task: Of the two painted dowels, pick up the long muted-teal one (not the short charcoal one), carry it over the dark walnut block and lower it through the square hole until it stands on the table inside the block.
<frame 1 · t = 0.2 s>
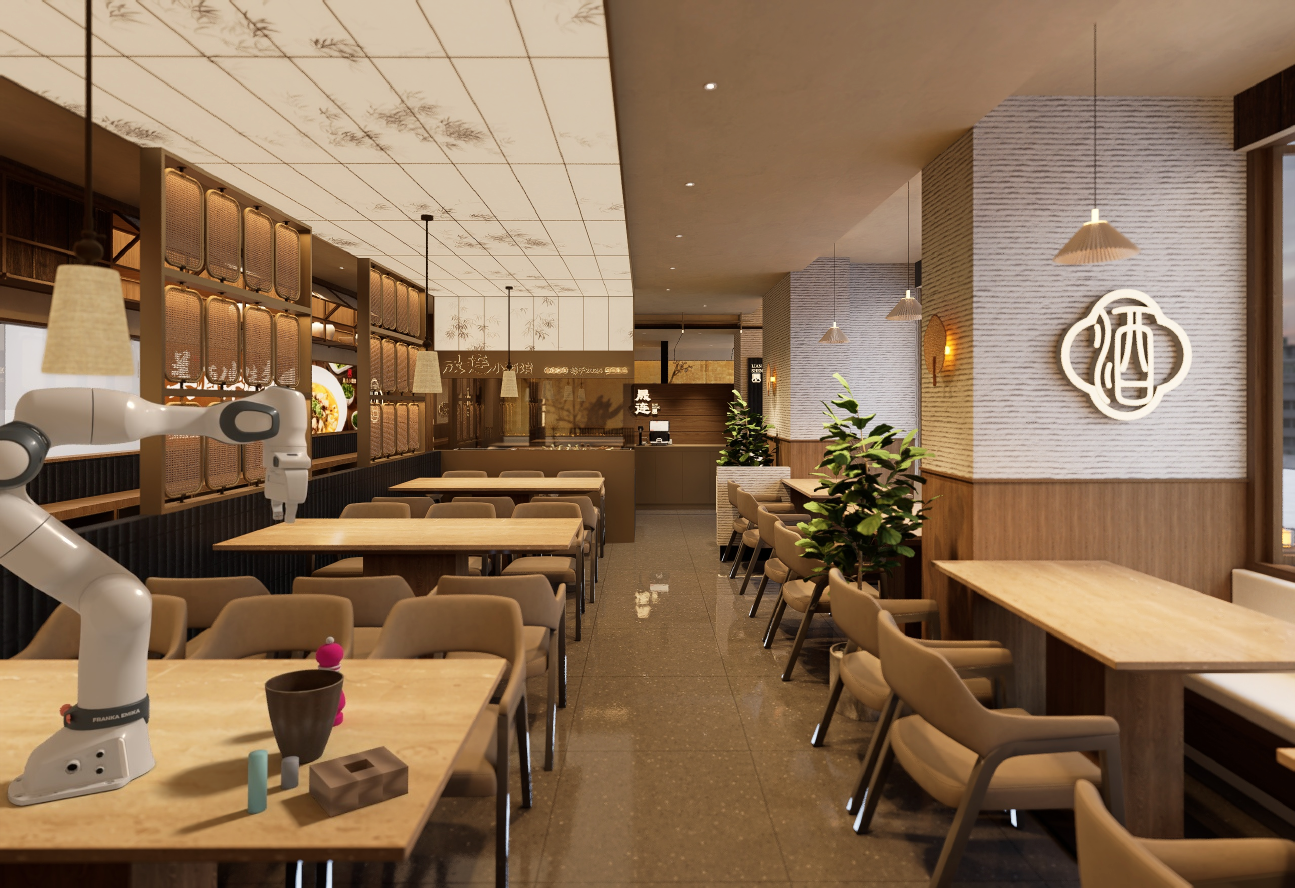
hand: (283, 521, 164), 48 cm above the table, fingers open, 8 cm apart
charcoal dowel: (289, 785, 139), on the table
plant pot: (303, 757, 152), on the table
pepper mill: (328, 723, 171), on the table
walnut block: (358, 792, 137), on the table
teal dowel: (257, 809, 130), on the table
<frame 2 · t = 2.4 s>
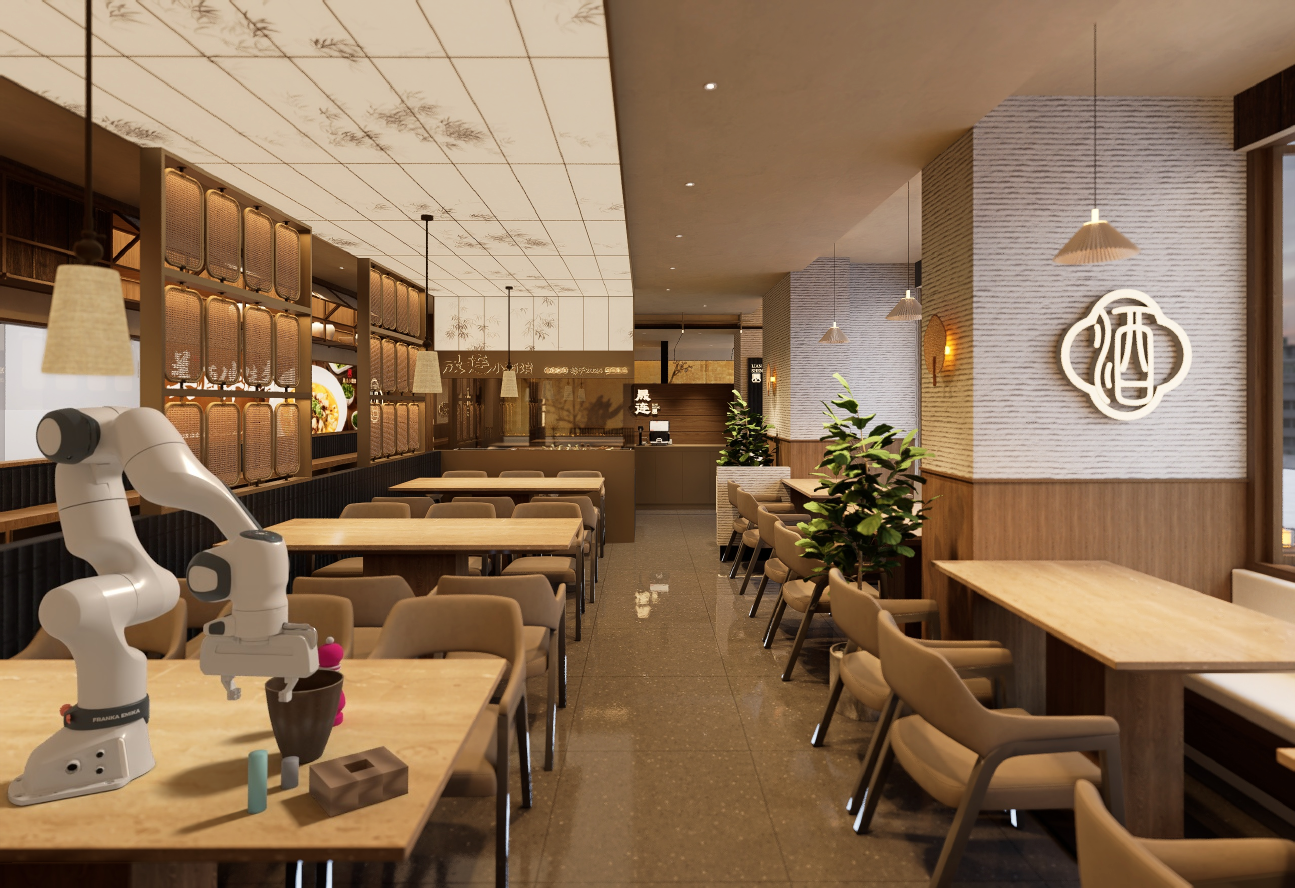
hand: (259, 700, 130), 19 cm above the table, fingers open, 8 cm apart
nothing on the table moved.
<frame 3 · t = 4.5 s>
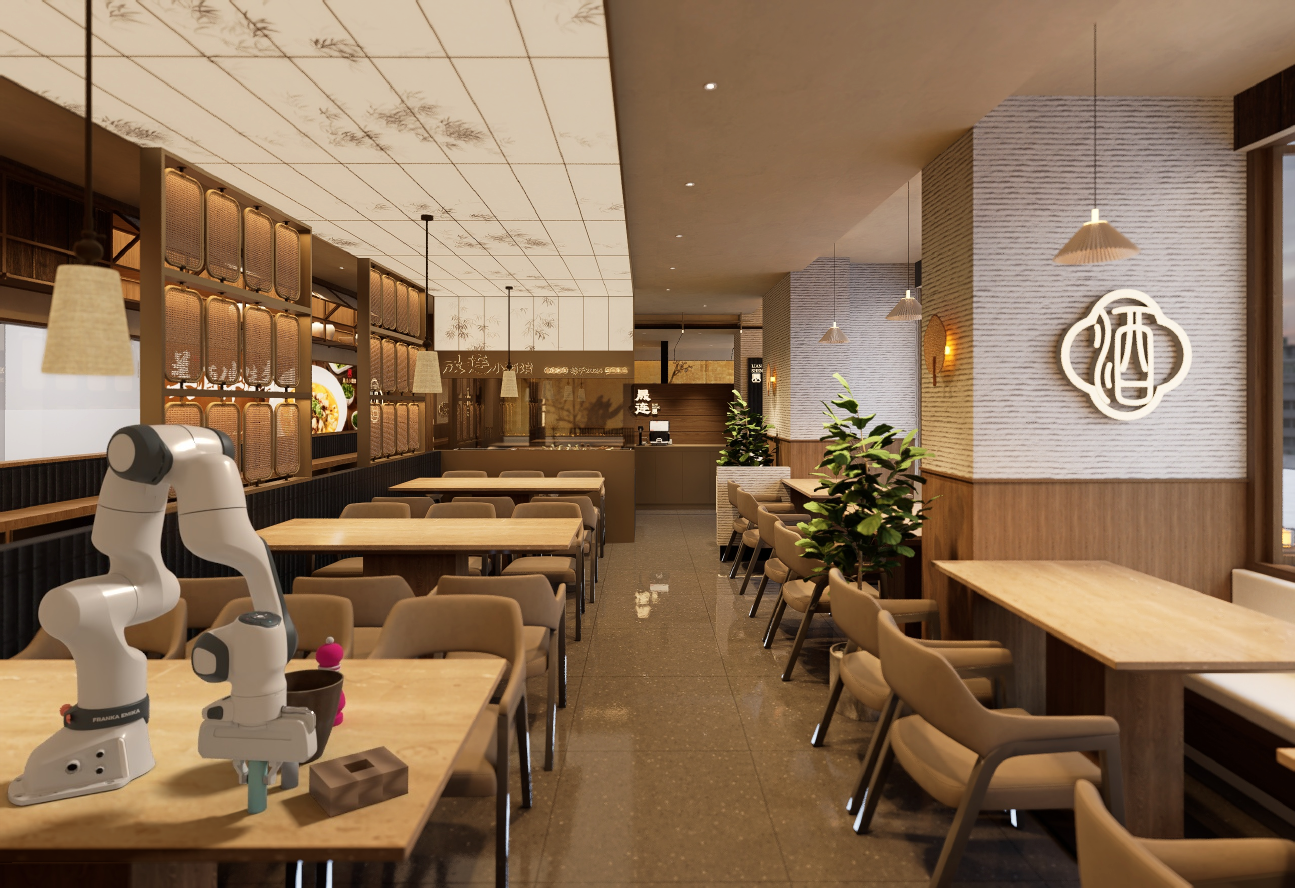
hand: (257, 783, 130), 5 cm above the table, fingers closed on teal dowel, 3 cm apart
teal dowel: (257, 809, 130), on the table, touching gripper
everything else where it was.
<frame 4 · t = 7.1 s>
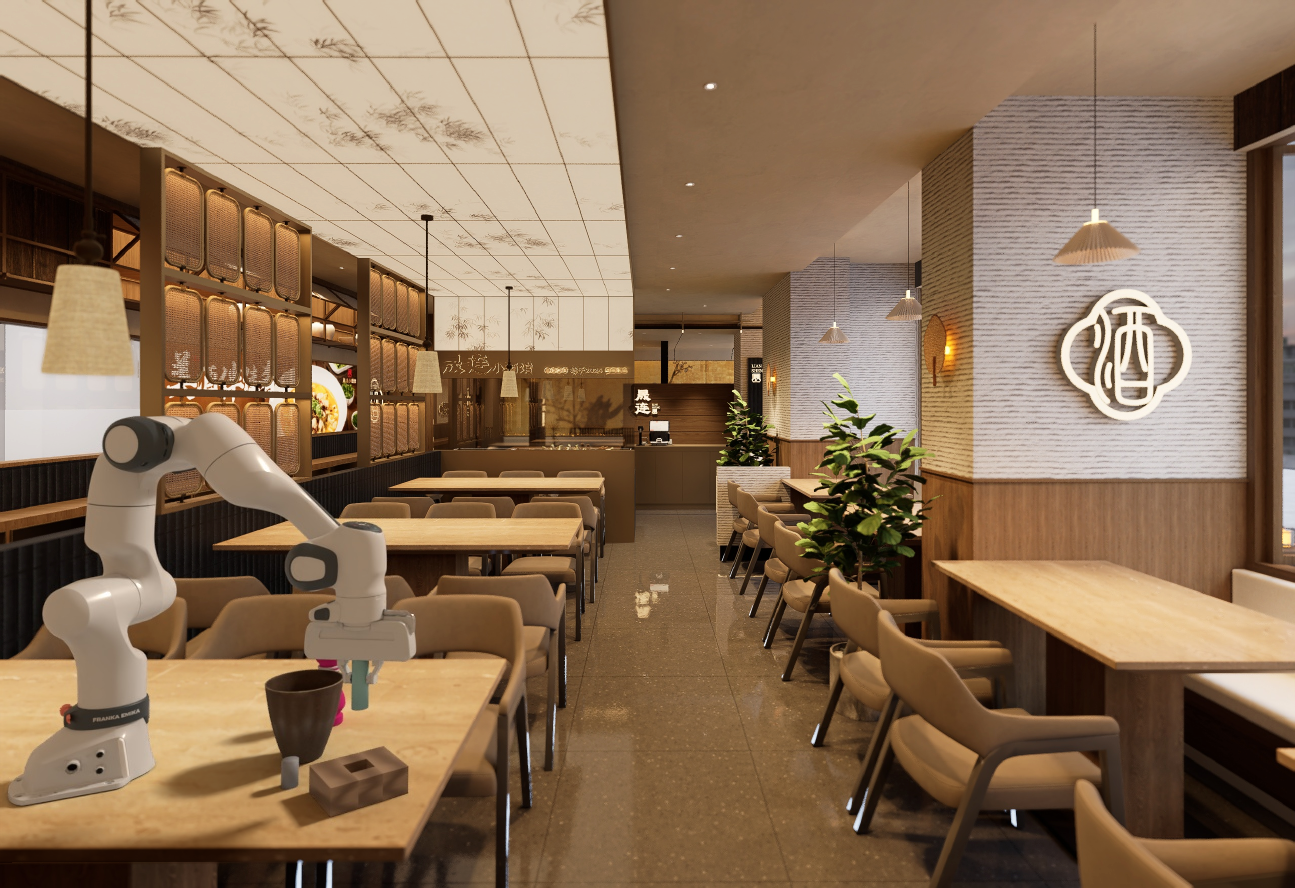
hand: (360, 683, 137), 20 cm above the table, fingers closed on teal dowel, 3 cm apart
teal dowel: (359, 707, 137), point 16 cm above the table, touching gripper
everything else where it was.
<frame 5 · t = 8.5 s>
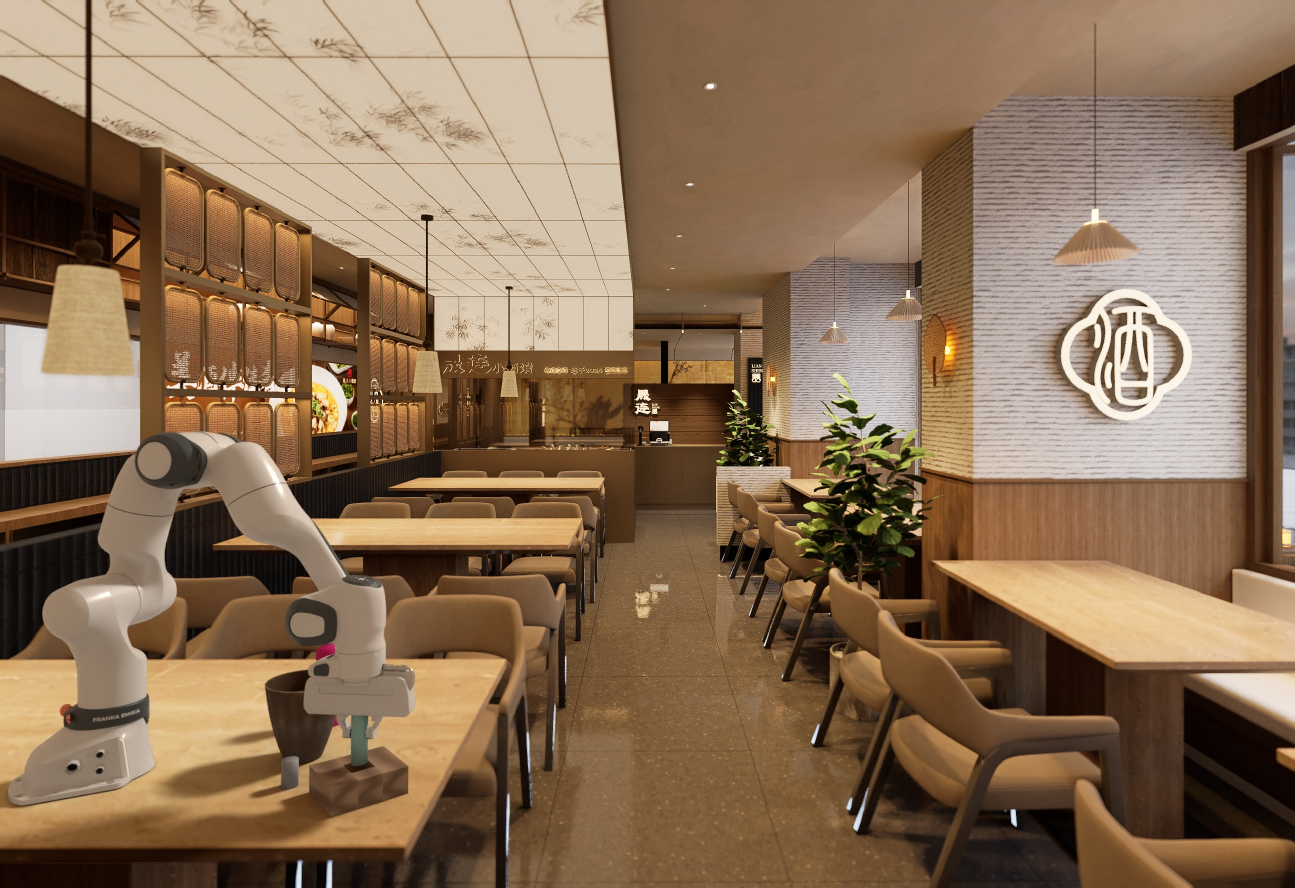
hand: (359, 737, 137), 10 cm above the table, fingers closed on teal dowel, 3 cm apart
teal dowel: (359, 762, 137), point 6 cm above the table, touching gripper
everything else where it was.
when the fingers open (6 cm above the table, at t = 9.7 s): teal dowel stays where it is, resting in walnut block.
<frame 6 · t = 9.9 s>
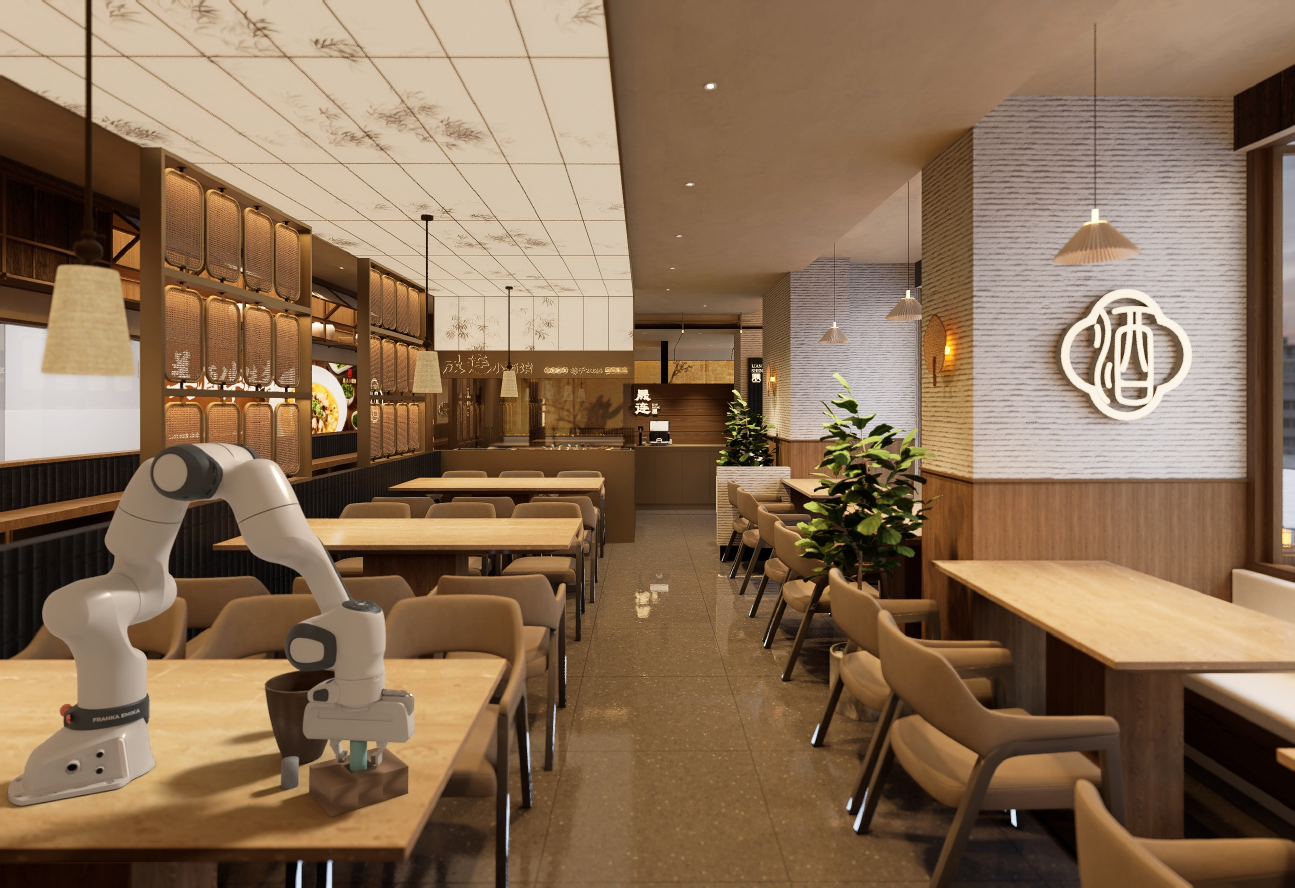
hand: (358, 762, 137), 6 cm above the table, fingers open, 5 cm apart
teal dowel: (357, 792, 137), resting in walnut block
everything else where it was.
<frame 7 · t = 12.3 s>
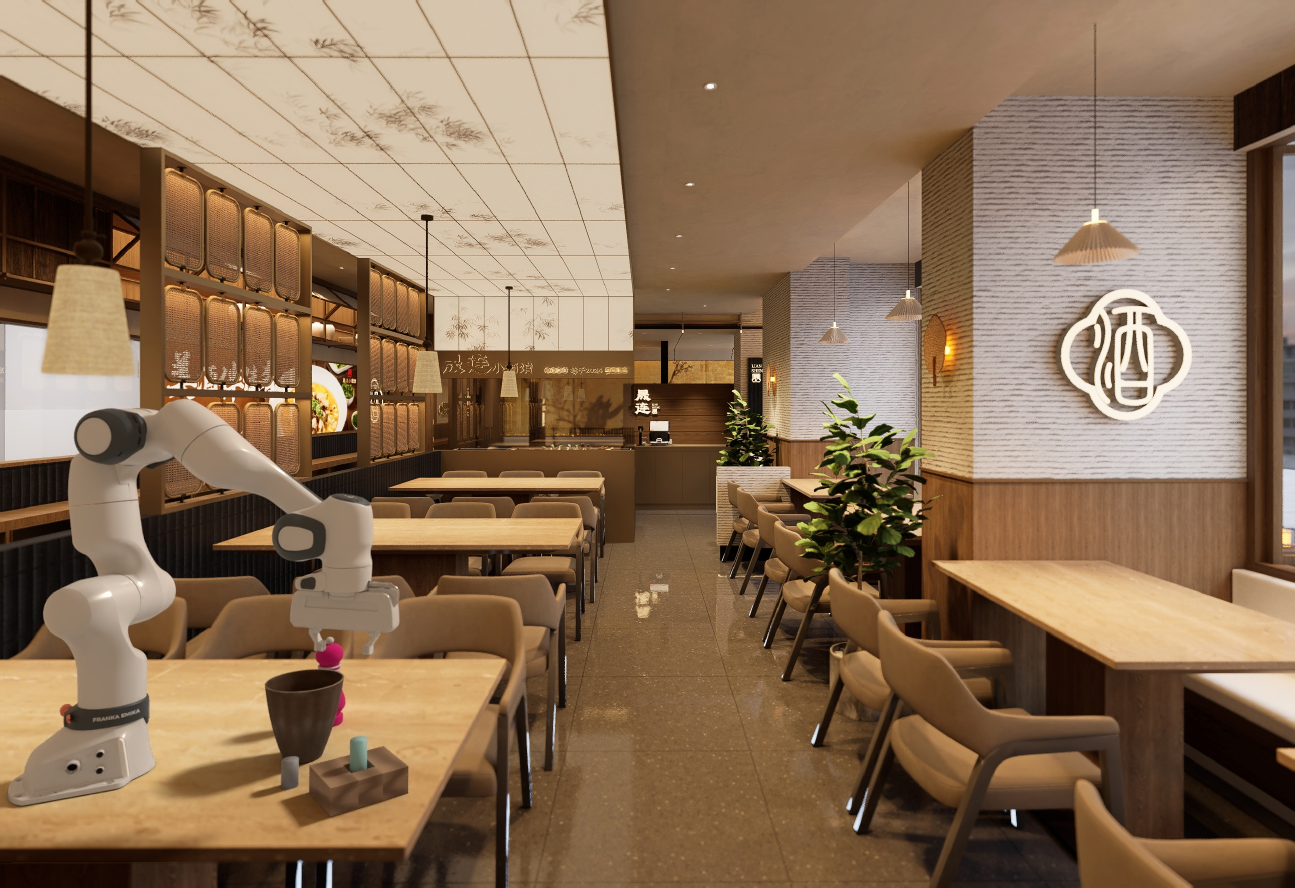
hand: (343, 652, 140), 25 cm above the table, fingers open, 8 cm apart
nothing on the table moved.
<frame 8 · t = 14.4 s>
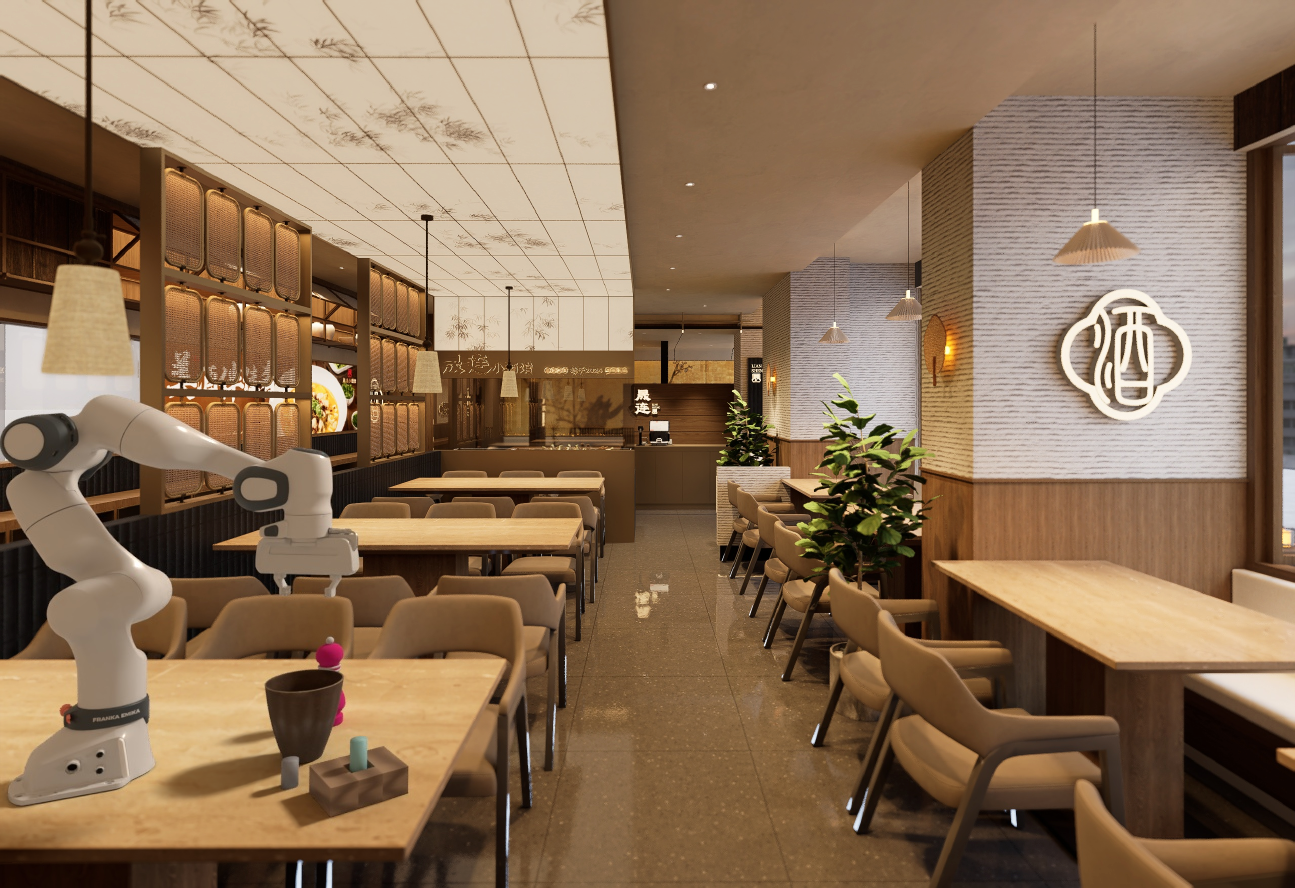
hand: (307, 596, 149), 34 cm above the table, fingers open, 8 cm apart
nothing on the table moved.
at the end: teal dowel 0.1 cm off-centre on the walnut block, point 0.0 cm above the walnut block's base; teal dowel tilted 0°; charcoal dowel moved 0.0 cm from its start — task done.
